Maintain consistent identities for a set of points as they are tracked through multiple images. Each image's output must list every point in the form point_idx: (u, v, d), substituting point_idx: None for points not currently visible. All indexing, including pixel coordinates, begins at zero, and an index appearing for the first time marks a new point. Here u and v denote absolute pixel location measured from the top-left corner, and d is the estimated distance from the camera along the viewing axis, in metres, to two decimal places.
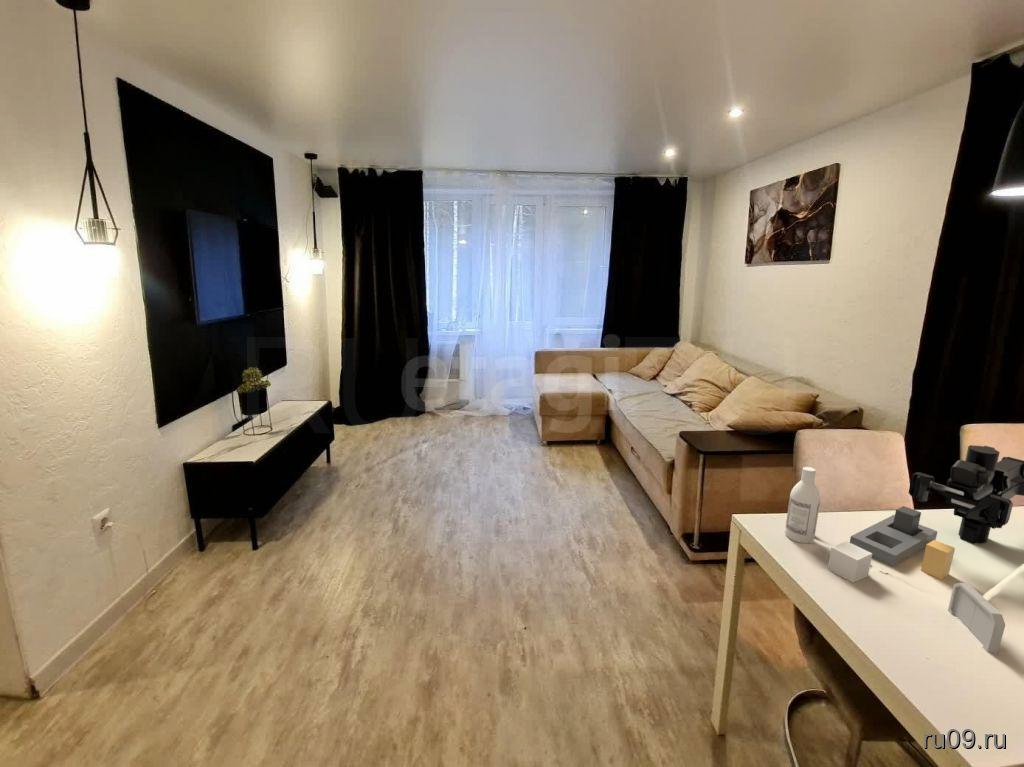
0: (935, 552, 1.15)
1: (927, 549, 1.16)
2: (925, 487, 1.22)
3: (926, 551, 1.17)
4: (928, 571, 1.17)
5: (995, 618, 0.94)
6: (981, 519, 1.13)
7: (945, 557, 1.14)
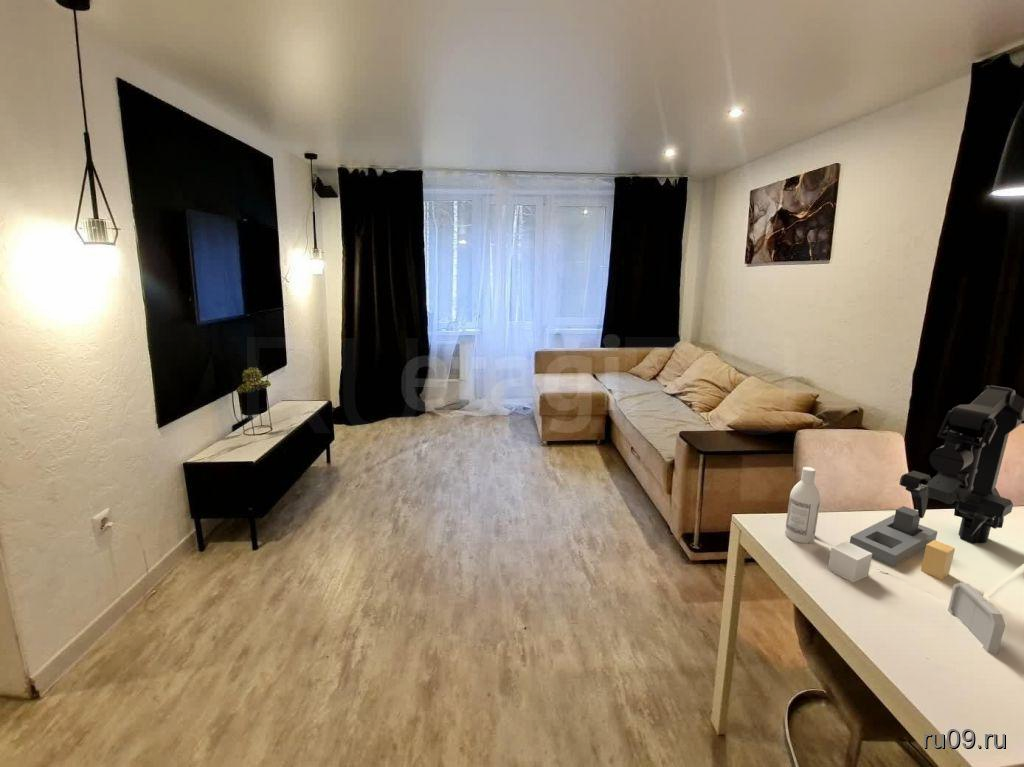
0: (935, 552, 1.15)
1: (927, 549, 1.16)
2: (919, 499, 1.17)
3: (926, 551, 1.17)
4: (928, 571, 1.17)
5: (995, 618, 0.94)
6: (987, 518, 1.09)
7: (945, 557, 1.14)
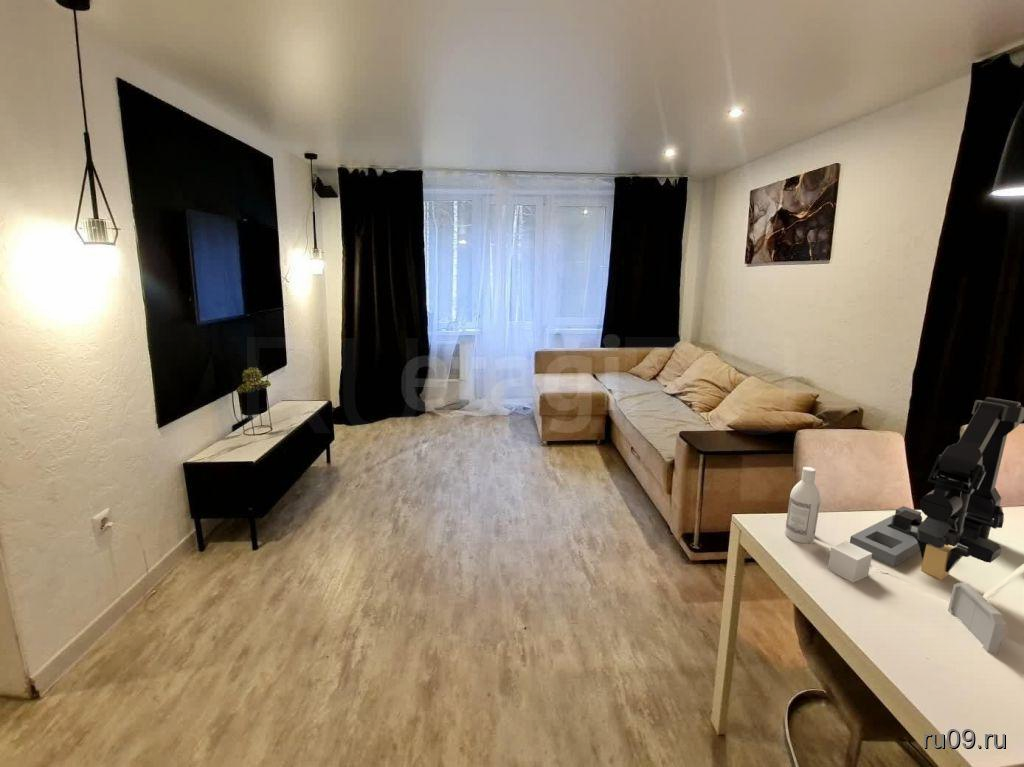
0: (935, 552, 1.15)
1: (927, 549, 1.16)
2: (923, 544, 1.18)
3: (926, 551, 1.17)
4: (928, 571, 1.17)
5: (995, 618, 0.94)
6: (962, 555, 1.14)
7: (945, 557, 1.14)
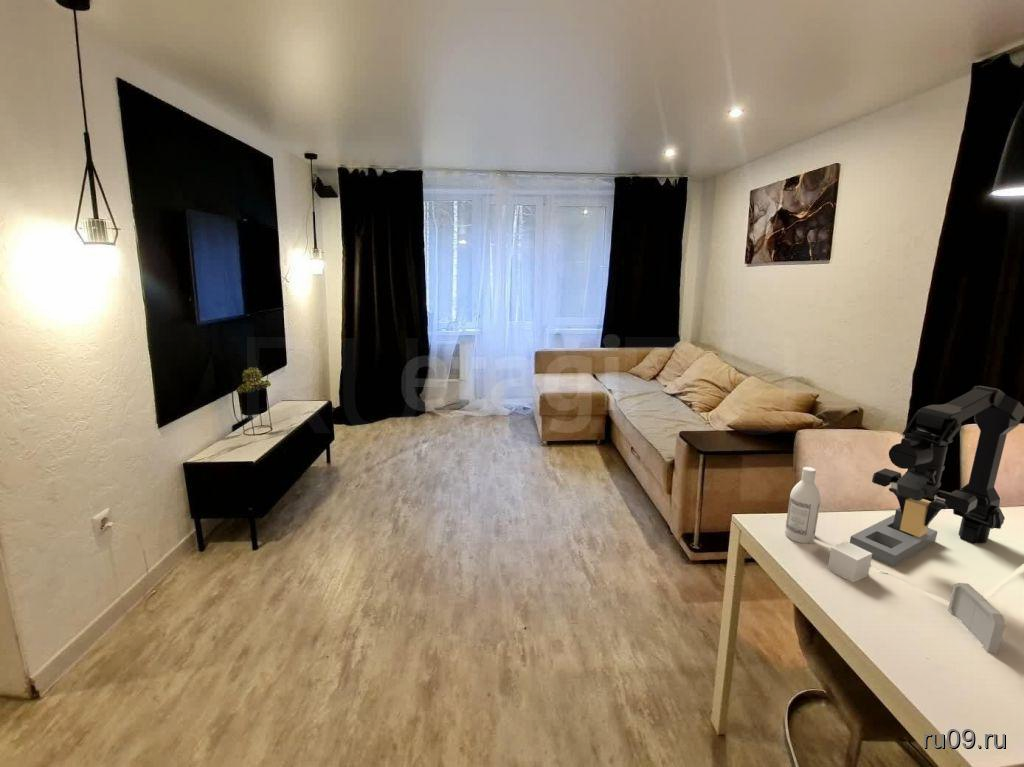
0: (914, 506, 1.17)
1: (906, 504, 1.19)
2: (902, 500, 1.20)
3: (905, 506, 1.19)
4: (907, 526, 1.19)
5: (995, 618, 0.94)
6: (940, 509, 1.16)
7: (924, 511, 1.16)
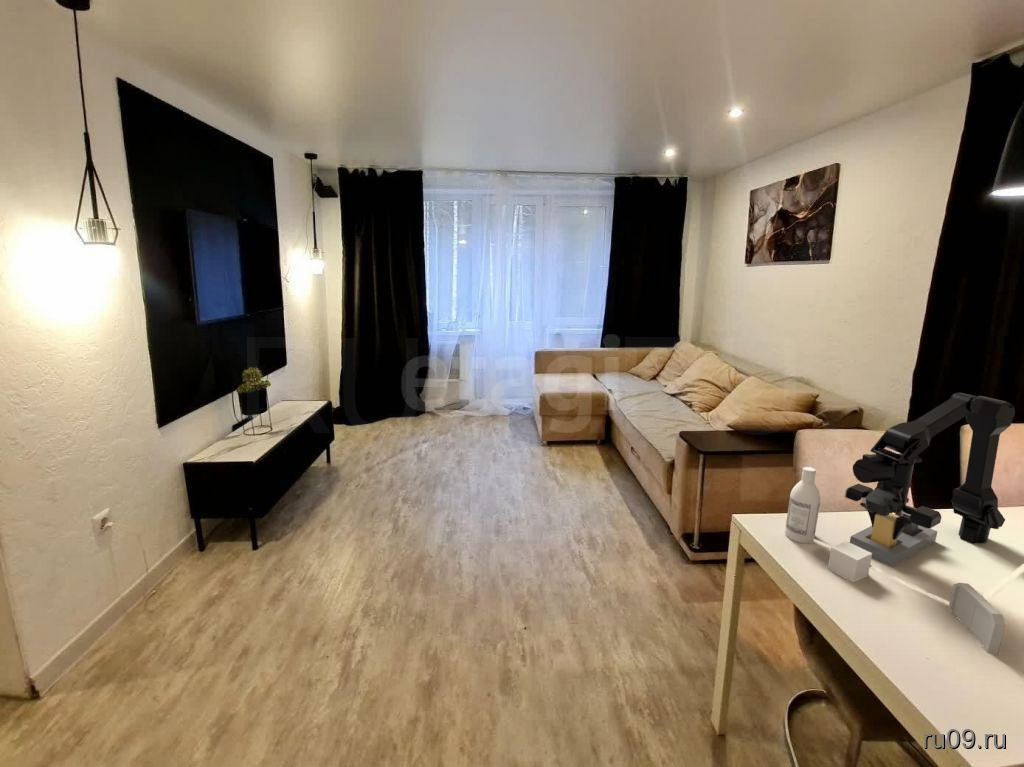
0: (883, 521, 1.23)
1: (876, 519, 1.25)
2: (872, 514, 1.26)
3: (875, 520, 1.25)
4: (877, 539, 1.25)
5: (995, 618, 0.94)
6: (908, 524, 1.22)
7: (891, 525, 1.22)
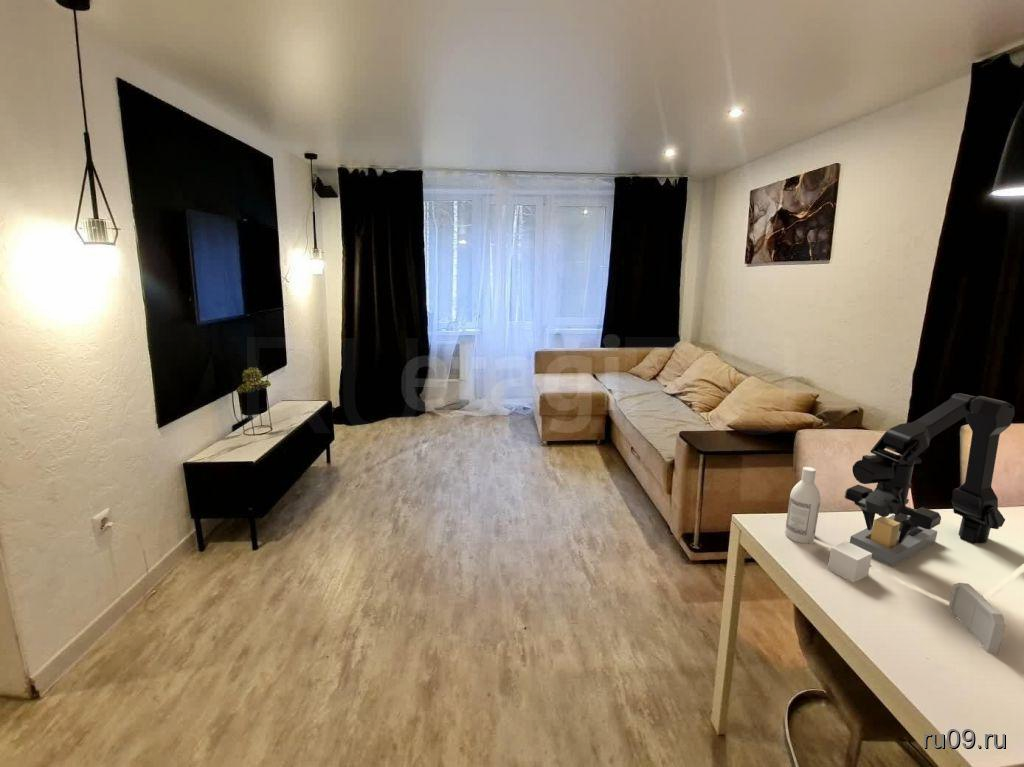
0: (881, 526, 1.24)
1: (875, 524, 1.25)
2: (866, 513, 1.27)
3: (874, 526, 1.25)
4: None
5: (995, 618, 0.94)
6: (914, 527, 1.21)
7: (890, 531, 1.22)
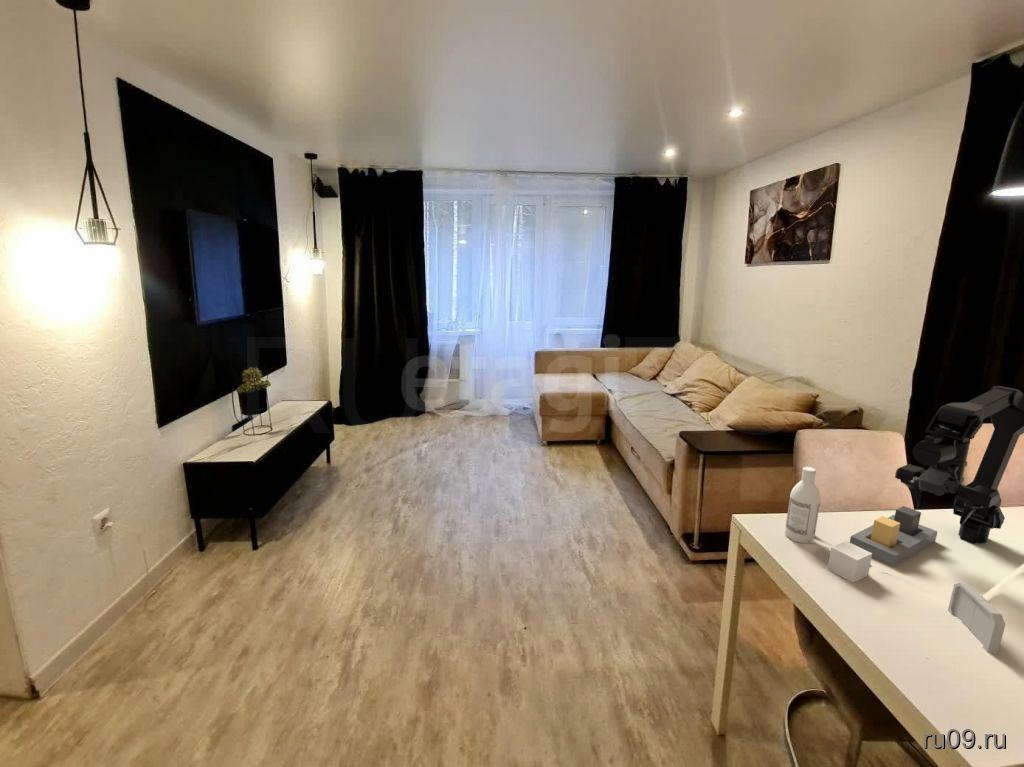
0: (881, 526, 1.24)
1: (875, 524, 1.25)
2: (913, 491, 1.25)
3: (874, 526, 1.25)
4: None
5: (995, 618, 0.94)
6: (976, 508, 1.17)
7: (890, 531, 1.22)
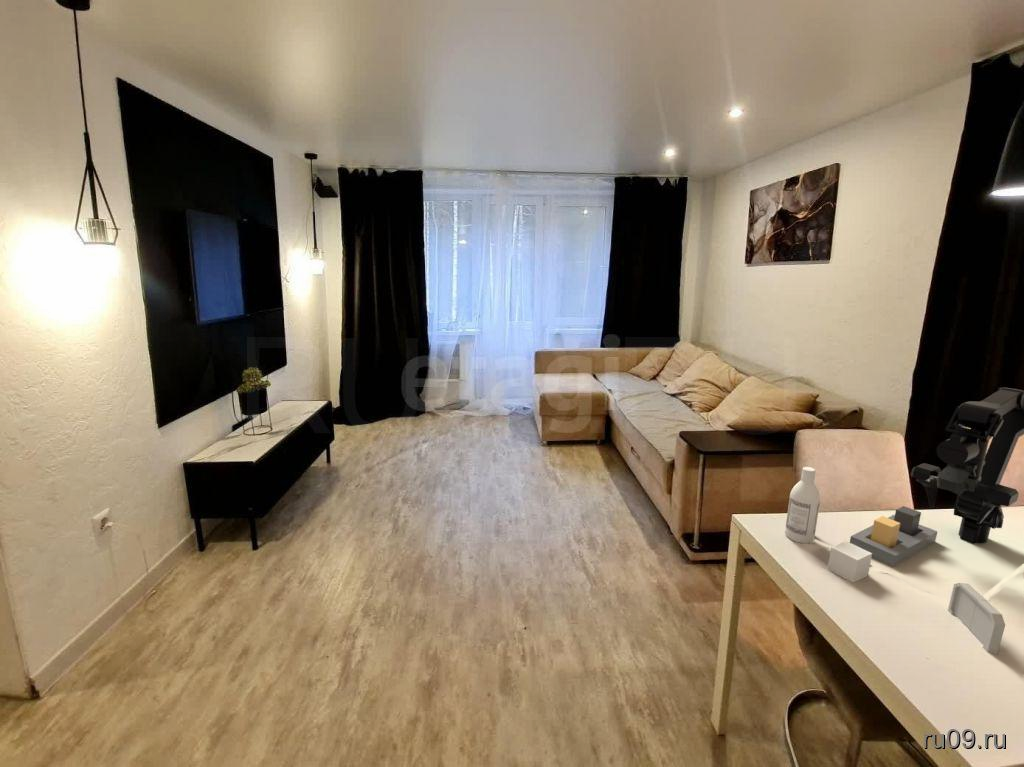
0: (881, 526, 1.24)
1: (875, 524, 1.25)
2: (930, 490, 1.24)
3: (874, 526, 1.25)
4: None
5: (995, 618, 0.94)
6: (994, 507, 1.16)
7: (890, 531, 1.22)
